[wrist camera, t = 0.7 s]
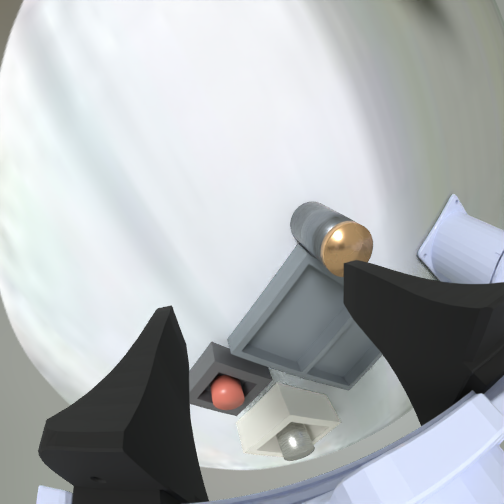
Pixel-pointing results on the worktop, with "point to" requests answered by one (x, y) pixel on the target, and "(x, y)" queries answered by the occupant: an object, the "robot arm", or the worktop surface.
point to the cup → (284, 418)
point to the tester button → (226, 392)
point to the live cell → (331, 236)
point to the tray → (305, 326)
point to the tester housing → (225, 363)
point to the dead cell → (294, 441)
